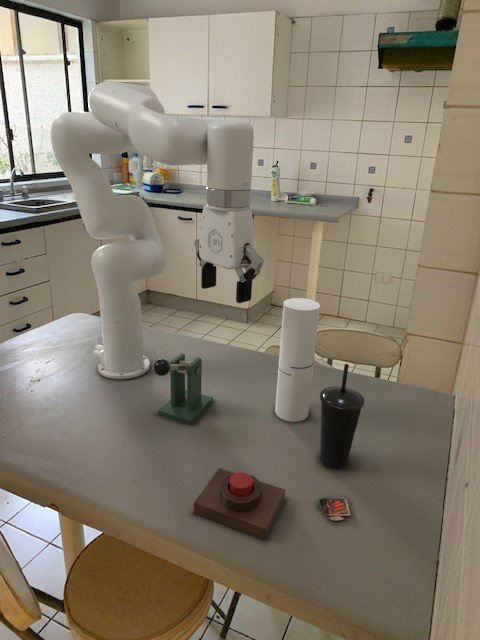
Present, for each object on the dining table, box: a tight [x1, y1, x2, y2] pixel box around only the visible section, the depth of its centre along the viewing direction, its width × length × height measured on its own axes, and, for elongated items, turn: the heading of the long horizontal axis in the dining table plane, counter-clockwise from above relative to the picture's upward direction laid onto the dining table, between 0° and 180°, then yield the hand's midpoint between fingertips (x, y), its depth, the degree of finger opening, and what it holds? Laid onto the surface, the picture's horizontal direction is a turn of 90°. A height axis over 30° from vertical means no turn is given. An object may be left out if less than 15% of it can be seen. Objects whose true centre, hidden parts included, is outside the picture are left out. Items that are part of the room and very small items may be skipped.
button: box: [230, 472, 253, 497], centre depth 73 cm, size 4×4×2 cm
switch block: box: [193, 467, 286, 541], centre depth 74 cm, size 12×9×4 cm
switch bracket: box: [157, 352, 214, 426], centre depth 98 cm, size 10×8×12 cm
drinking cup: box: [319, 363, 366, 470], centre depth 82 cm, size 8×8×20 cm
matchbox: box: [318, 497, 351, 522], centre depth 74 cm, size 5×5×1 cm
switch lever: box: [152, 358, 192, 377], centre depth 92 cm, size 13×3×3 cm, turn 156°
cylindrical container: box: [274, 297, 321, 423], centre depth 96 cm, size 7×7×25 cm
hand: (225, 294), depth 85 cm, fingers open, 9 cm apart
